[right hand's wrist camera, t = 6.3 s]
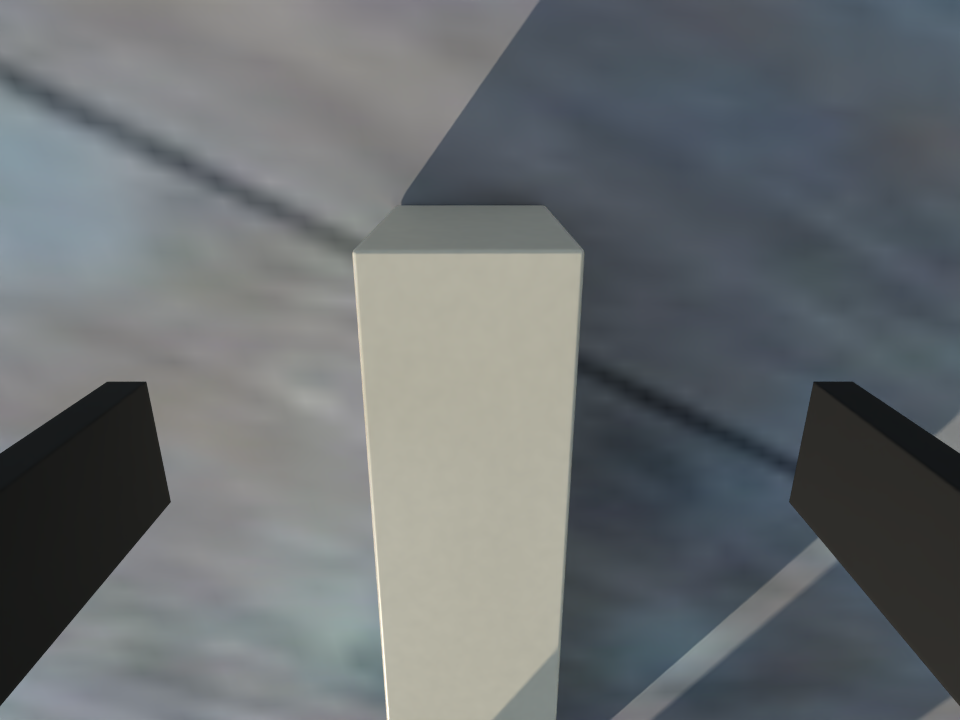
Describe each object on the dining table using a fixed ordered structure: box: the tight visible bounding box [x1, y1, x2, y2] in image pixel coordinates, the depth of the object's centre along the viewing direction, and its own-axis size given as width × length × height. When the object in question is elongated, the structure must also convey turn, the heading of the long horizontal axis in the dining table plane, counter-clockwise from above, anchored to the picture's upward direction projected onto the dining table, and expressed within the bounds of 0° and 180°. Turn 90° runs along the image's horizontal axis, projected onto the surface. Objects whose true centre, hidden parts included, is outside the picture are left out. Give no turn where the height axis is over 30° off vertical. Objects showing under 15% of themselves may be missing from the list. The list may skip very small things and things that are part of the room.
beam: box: [353, 205, 585, 720], centre depth 20 cm, size 26×4×7 cm, turn 0°
